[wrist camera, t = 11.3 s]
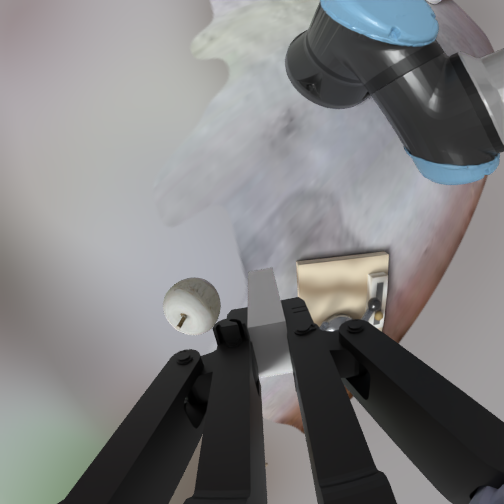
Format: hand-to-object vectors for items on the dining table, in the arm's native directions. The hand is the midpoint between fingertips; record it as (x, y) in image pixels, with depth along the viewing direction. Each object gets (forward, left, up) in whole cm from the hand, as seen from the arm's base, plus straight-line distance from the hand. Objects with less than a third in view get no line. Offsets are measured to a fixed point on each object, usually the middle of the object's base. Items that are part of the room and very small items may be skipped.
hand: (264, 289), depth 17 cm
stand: (+18, +14, -26) cm, 35 cm away
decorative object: (+11, -11, -27) cm, 31 cm away
